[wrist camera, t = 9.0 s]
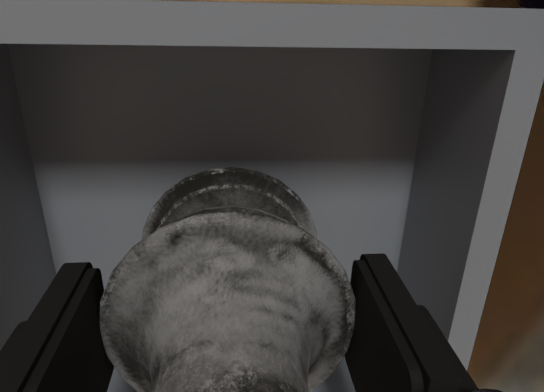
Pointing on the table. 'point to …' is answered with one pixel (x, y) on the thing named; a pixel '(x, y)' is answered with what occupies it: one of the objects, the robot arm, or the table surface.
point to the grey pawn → (227, 292)
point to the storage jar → (532, 4)
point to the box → (267, 133)
